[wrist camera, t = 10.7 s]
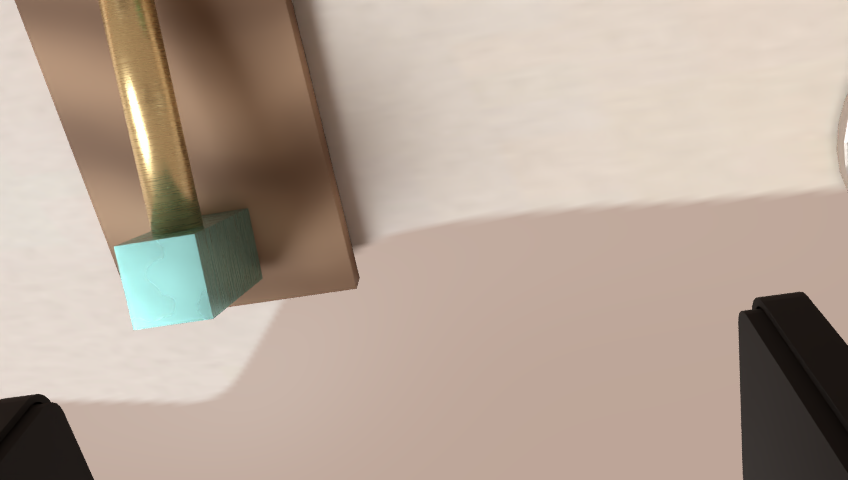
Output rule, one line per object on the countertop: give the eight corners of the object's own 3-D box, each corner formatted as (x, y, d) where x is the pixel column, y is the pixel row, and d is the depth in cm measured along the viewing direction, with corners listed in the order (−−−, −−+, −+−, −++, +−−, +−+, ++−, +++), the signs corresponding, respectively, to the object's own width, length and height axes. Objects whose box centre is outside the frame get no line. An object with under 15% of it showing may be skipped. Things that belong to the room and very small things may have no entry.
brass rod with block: (114, -78, 37) (26, -116, 30) (185, -93, 37) (112, -135, 30) (196, 288, 40) (133, 329, 33) (262, 278, 40) (213, 318, 33)
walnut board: (-114, -382, 31) (-135, -391, 30) (179, -459, 29) (168, -472, 28) (145, 309, 43) (136, 320, 42) (359, 277, 42) (356, 288, 41)
